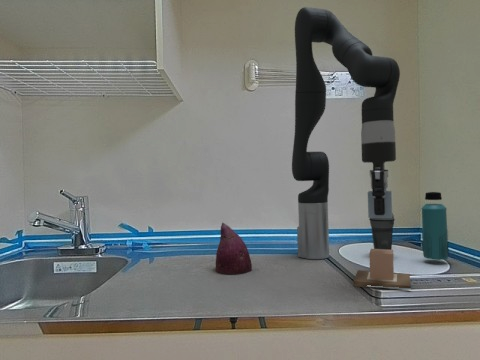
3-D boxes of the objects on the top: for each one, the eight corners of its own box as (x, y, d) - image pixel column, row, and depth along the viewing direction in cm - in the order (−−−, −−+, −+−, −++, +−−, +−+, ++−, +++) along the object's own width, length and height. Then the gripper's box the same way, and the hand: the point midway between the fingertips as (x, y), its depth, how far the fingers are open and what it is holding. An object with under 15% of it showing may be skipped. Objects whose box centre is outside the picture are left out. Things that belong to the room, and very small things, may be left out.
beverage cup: (376, 253, 115) (374, 191, 115) (399, 256, 110) (397, 191, 109) (366, 257, 110) (364, 192, 110) (389, 260, 105) (387, 192, 104)
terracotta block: (370, 278, 83) (369, 252, 83) (371, 272, 88) (370, 248, 88) (393, 280, 81) (392, 254, 81) (393, 274, 86) (393, 249, 86)
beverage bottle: (452, 265, 97) (450, 192, 97) (426, 265, 99) (424, 192, 98) (444, 259, 104) (442, 191, 104) (419, 259, 105) (417, 191, 105)
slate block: (368, 217, 83) (367, 192, 83) (370, 215, 88) (369, 191, 88) (391, 218, 81) (390, 191, 81) (392, 215, 86) (391, 190, 86)
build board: (353, 286, 83) (353, 280, 83) (358, 274, 92) (358, 269, 92) (410, 291, 78) (410, 285, 78) (409, 278, 87) (409, 273, 87)
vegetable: (212, 284, 98) (195, 233, 97) (226, 270, 108) (210, 223, 107) (247, 278, 94) (229, 224, 93) (258, 263, 104) (242, 214, 103)
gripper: (395, 138, 76) (397, 217, 76) (395, 142, 89) (397, 210, 89) (358, 140, 79) (360, 217, 80) (364, 144, 92) (366, 210, 93)
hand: (380, 213), depth 85 cm, fingers closed on slate block, 5 cm apart
